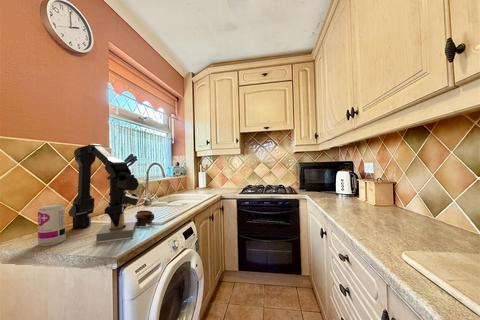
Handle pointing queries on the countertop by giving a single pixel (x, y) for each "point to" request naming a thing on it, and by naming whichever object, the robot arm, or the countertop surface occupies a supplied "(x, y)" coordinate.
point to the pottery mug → (144, 218)
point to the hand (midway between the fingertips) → (117, 225)
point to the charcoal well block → (116, 233)
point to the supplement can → (51, 224)
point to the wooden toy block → (121, 223)
